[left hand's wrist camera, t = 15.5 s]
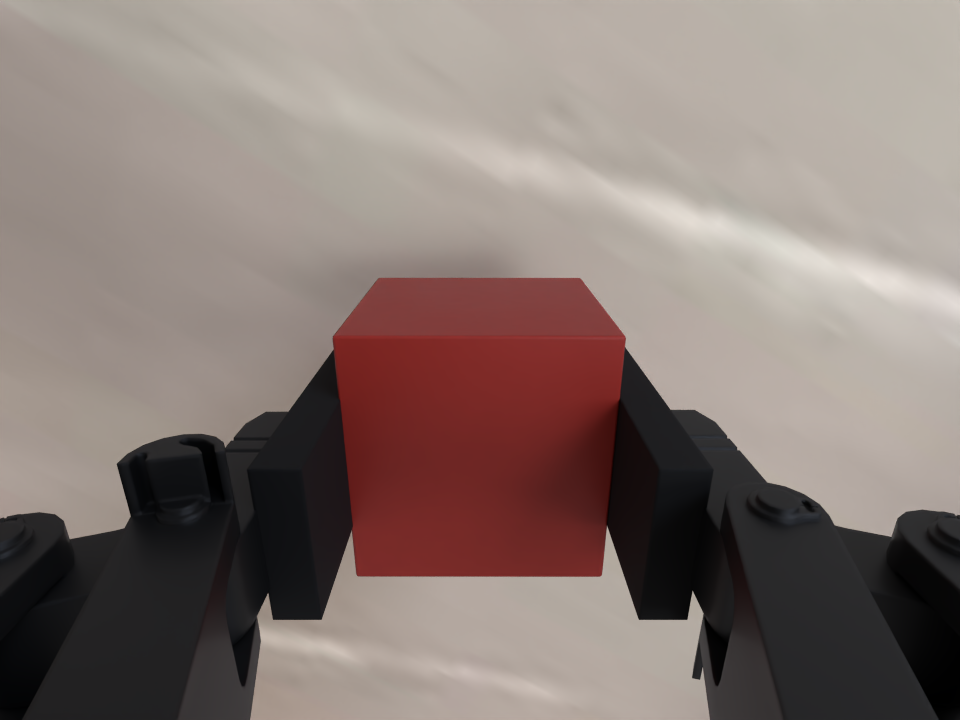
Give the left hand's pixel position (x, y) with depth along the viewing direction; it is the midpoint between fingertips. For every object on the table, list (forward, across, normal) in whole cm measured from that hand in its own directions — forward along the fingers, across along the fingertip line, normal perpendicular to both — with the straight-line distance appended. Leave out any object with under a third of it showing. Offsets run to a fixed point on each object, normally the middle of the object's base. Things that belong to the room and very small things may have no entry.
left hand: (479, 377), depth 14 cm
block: (0, 0, 0) cm, 0 cm away
